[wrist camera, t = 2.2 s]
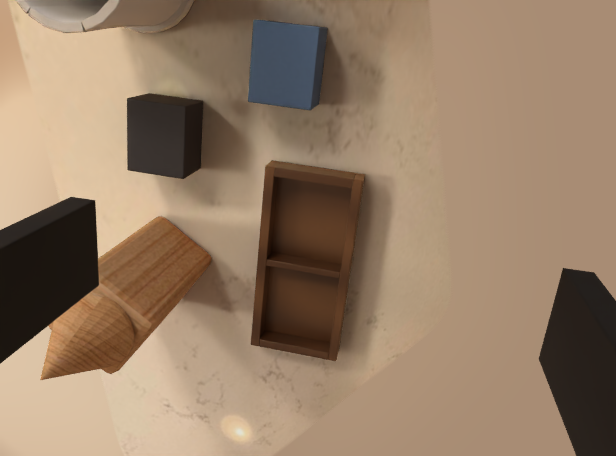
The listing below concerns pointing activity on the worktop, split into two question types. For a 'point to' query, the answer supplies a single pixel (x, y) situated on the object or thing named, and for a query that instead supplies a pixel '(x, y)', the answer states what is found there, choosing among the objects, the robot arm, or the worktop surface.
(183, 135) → the dark grey block
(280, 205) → the holder
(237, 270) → the worktop surface
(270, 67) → the slate blue block
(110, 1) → the cup
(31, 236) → the robot arm
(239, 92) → the worktop surface
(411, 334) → the worktop surface
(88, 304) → the decorative item
